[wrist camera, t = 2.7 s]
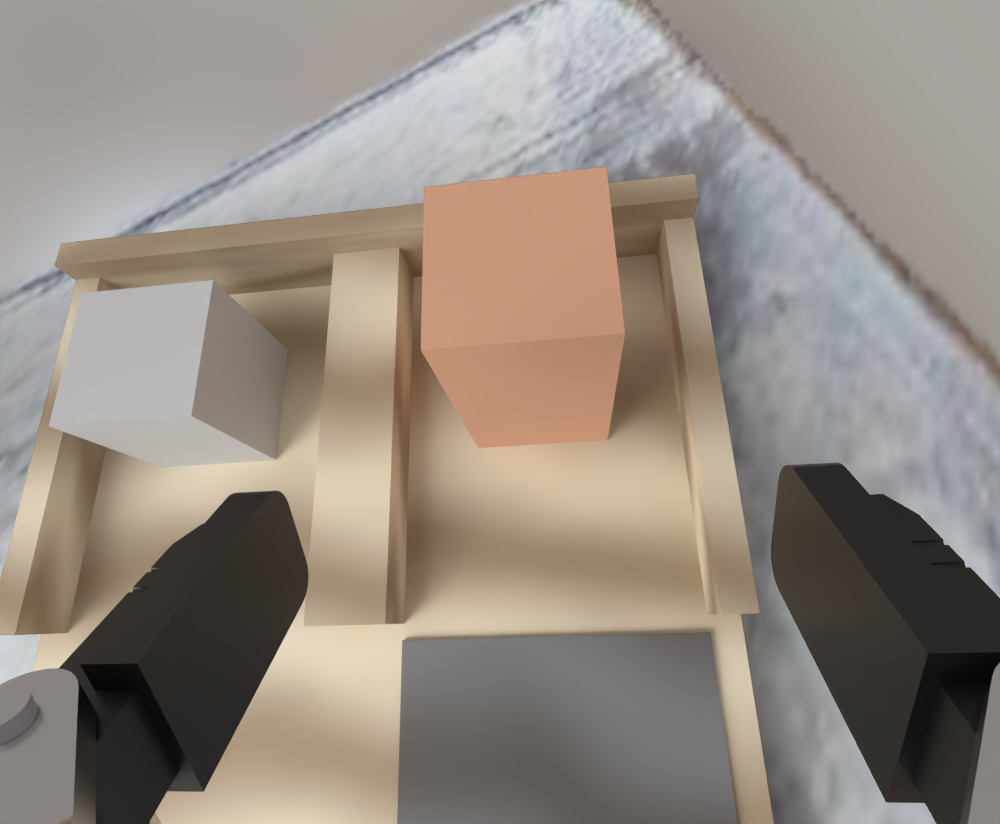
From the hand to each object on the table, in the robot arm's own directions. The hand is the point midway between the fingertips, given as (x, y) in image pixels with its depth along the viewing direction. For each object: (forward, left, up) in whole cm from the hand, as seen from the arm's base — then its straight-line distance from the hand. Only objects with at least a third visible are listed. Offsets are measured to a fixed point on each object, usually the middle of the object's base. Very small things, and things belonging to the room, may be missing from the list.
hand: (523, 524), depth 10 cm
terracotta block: (-2, +6, -10) cm, 12 cm away
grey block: (-13, +3, -10) cm, 17 cm away
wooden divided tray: (-6, -1, -12) cm, 13 cm away
